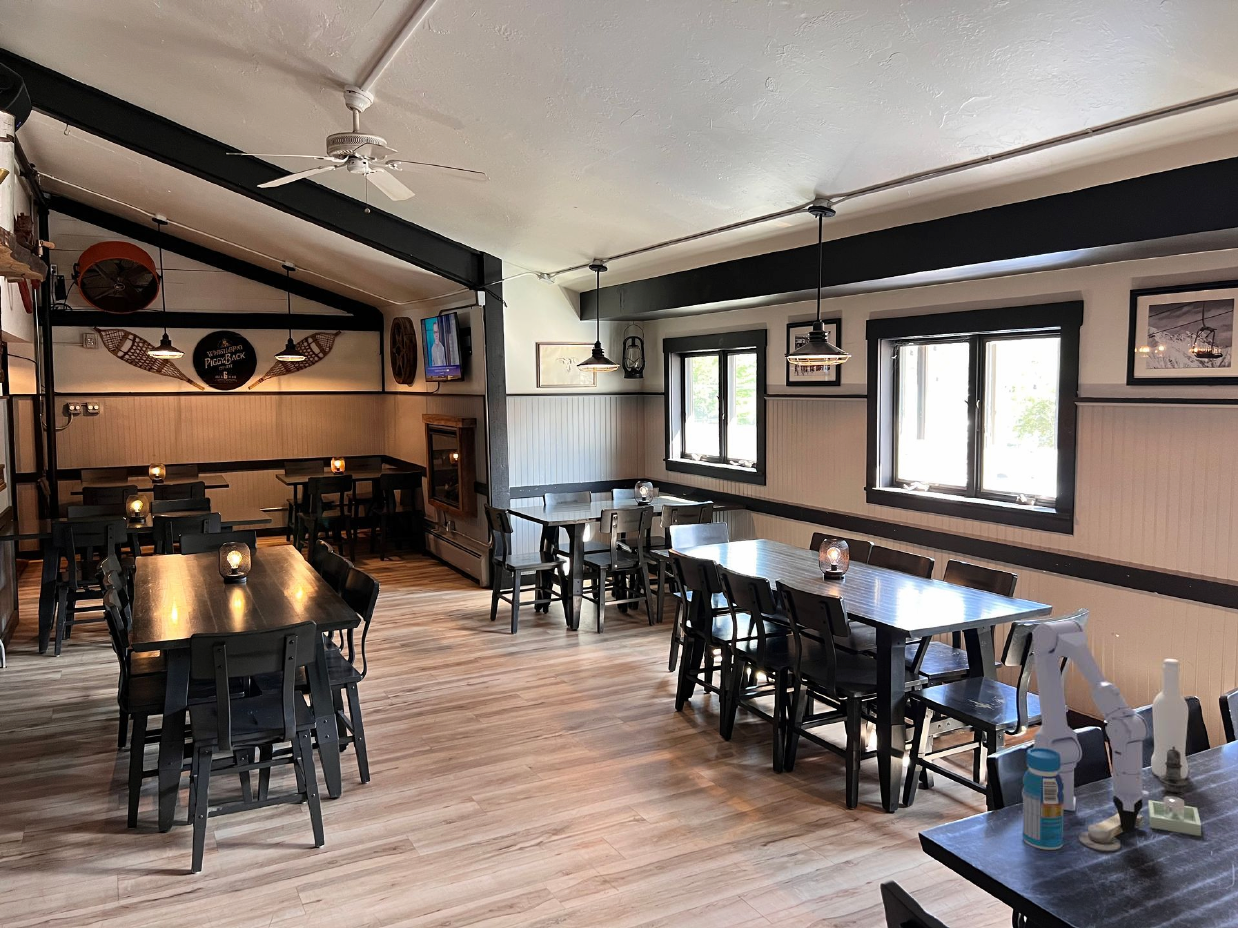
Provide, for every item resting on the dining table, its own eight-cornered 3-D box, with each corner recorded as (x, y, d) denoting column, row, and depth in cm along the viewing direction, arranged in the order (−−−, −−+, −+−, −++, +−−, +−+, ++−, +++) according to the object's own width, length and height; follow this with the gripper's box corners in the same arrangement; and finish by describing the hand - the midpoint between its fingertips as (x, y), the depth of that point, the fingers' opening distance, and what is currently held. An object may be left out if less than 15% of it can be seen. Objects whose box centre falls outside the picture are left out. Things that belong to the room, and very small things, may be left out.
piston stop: (1163, 822, 204) (1163, 801, 204) (1163, 816, 208) (1163, 794, 208) (1184, 826, 202) (1184, 804, 202) (1183, 819, 206) (1183, 798, 206)
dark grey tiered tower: (1179, 789, 223) (1180, 741, 222) (1192, 799, 217) (1193, 750, 216) (1154, 788, 224) (1155, 741, 223) (1166, 798, 218) (1167, 750, 217)
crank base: (1078, 846, 195) (1078, 843, 195) (1079, 830, 202) (1079, 827, 202) (1120, 854, 191) (1120, 851, 191) (1120, 838, 199) (1120, 835, 199)
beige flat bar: (1105, 845, 194) (1105, 836, 193) (1082, 836, 198) (1082, 827, 198) (1143, 824, 203) (1143, 815, 202) (1120, 816, 207) (1120, 807, 207)
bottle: (1143, 769, 235) (1145, 656, 234) (1173, 767, 236) (1175, 654, 234) (1165, 781, 227) (1166, 664, 226) (1195, 780, 228) (1197, 663, 226)
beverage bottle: (1015, 842, 197) (1016, 753, 196) (1029, 829, 204) (1029, 742, 202) (1056, 855, 192) (1057, 763, 190) (1069, 840, 198) (1070, 751, 197)
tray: (1150, 827, 203) (1150, 816, 203) (1148, 810, 212) (1148, 799, 212) (1200, 835, 199) (1201, 824, 199) (1196, 818, 207) (1196, 807, 207)
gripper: (1150, 784, 189) (1150, 848, 190) (1146, 761, 202) (1147, 821, 203) (1111, 779, 193) (1112, 841, 193) (1110, 757, 205) (1111, 815, 206)
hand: (1127, 830), depth 198 cm, fingers closed, pressing on beige flat bar
